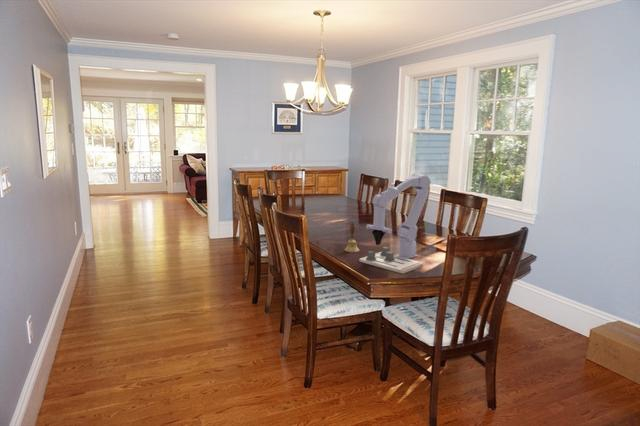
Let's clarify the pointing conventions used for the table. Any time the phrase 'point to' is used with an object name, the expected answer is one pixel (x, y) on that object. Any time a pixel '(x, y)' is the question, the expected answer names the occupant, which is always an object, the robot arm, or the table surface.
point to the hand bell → (352, 241)
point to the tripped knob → (389, 256)
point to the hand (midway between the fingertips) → (378, 244)
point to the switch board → (393, 263)
